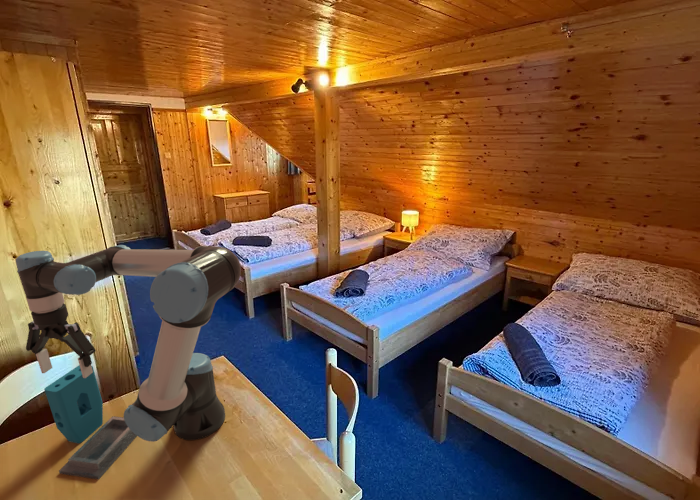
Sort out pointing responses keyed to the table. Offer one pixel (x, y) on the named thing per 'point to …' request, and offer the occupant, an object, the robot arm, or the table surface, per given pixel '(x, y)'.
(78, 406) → the block
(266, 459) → the table surface
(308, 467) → the table surface
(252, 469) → the table surface
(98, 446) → the grey rectangular tray
